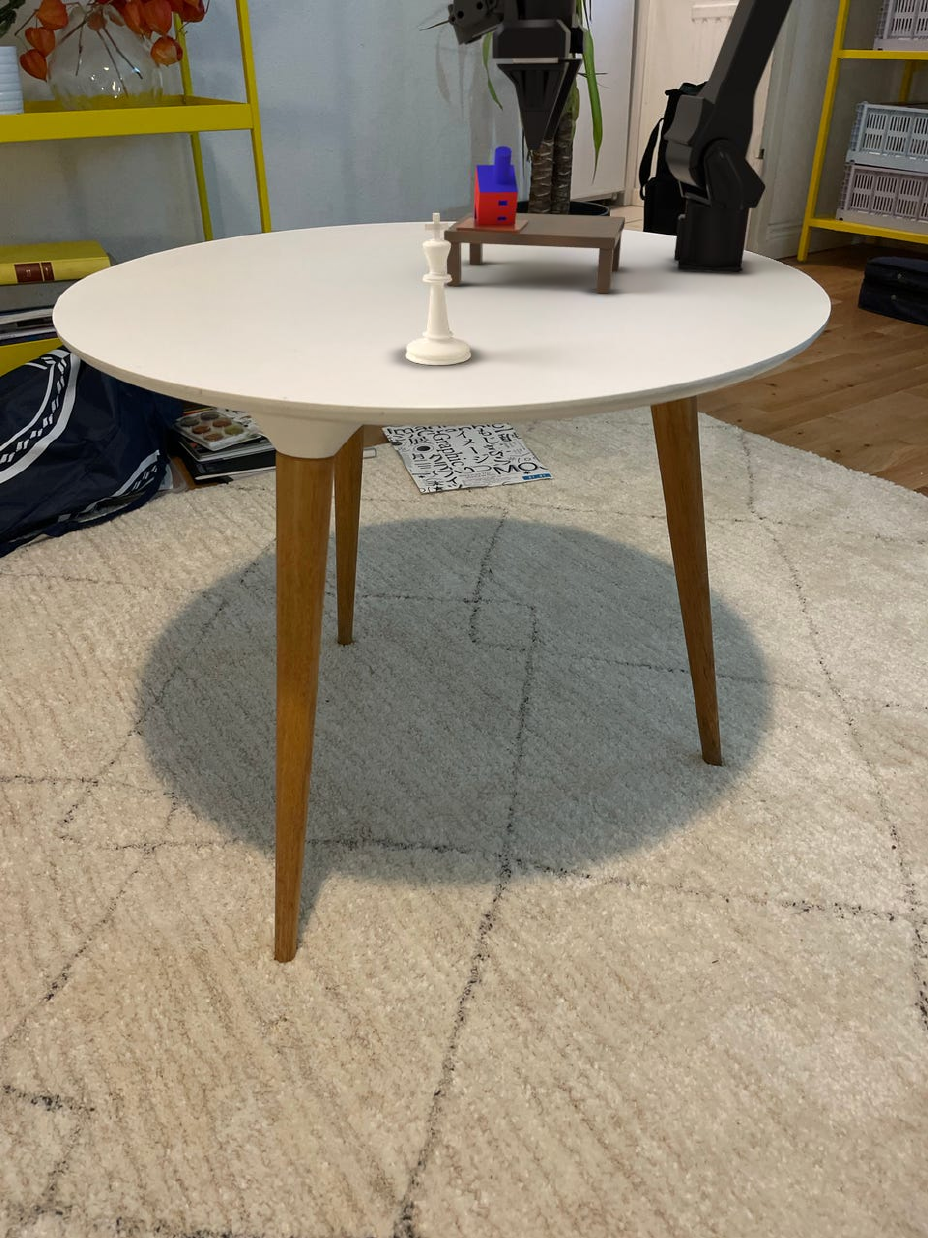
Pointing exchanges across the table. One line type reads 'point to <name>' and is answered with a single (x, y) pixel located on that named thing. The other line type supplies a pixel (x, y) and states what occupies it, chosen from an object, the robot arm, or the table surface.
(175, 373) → the table surface
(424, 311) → the table surface
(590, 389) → the table surface
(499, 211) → the toy building block
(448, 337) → the chess piece
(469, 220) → the miniature wooden table
